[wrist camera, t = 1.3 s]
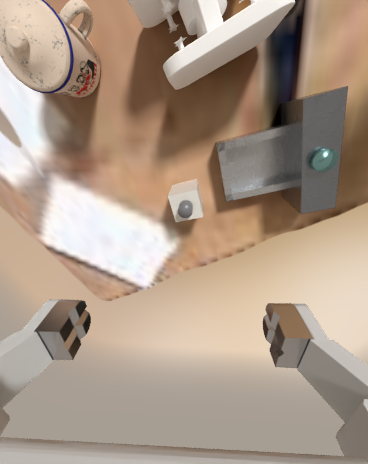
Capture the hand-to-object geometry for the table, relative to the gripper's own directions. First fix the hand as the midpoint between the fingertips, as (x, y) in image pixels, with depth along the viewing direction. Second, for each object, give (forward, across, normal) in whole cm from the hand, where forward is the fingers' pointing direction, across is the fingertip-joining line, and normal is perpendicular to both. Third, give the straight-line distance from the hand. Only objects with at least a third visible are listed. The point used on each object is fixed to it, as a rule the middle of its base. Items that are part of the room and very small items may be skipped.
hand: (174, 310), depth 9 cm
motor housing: (+32, -14, -2) cm, 35 cm away
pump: (+33, 0, +5) cm, 33 cm away
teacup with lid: (+33, +17, -17) cm, 41 cm away
